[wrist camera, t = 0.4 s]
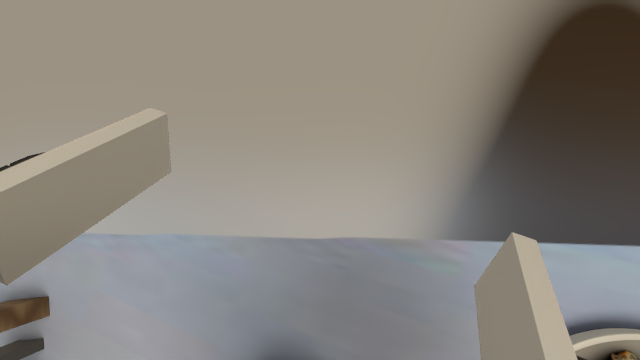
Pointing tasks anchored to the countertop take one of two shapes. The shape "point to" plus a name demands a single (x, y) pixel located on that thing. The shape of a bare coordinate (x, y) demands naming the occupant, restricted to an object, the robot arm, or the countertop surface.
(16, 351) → the domino
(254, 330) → the countertop surface
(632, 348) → the bowl
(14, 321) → the end block
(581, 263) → the countertop surface
